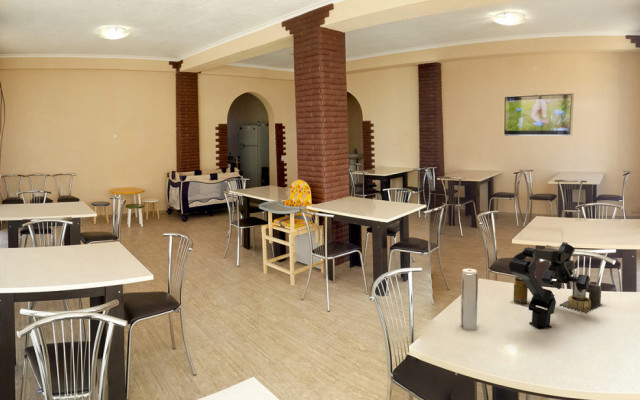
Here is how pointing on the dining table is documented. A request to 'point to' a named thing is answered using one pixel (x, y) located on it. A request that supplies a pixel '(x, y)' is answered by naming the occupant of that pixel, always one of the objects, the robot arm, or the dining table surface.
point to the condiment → (520, 292)
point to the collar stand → (589, 302)
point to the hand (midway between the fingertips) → (570, 290)
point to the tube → (579, 294)
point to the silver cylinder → (469, 299)
